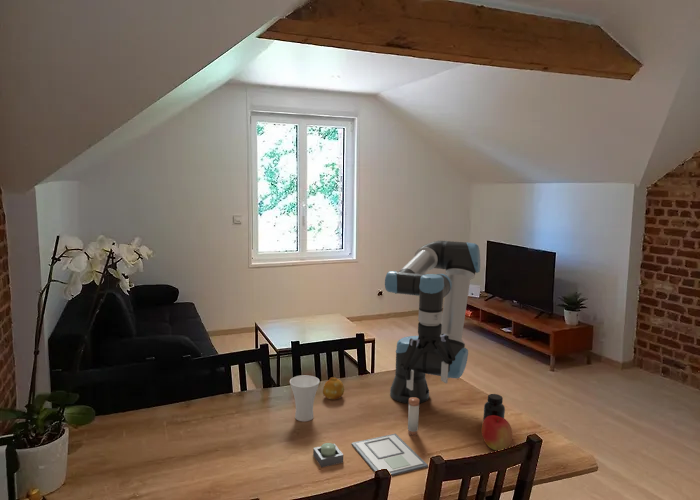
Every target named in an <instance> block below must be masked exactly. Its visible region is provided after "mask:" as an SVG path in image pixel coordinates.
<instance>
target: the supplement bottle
mask: <svg viewBox="0 0 700 500" xmlns="http://www.w3.org/2000/svg"><path fill="white" fill-rule="evenodd" d="M503 398H504V397H503V396H502V395H501V394H498V393H497V394H496V393H489V394H488V395H487V401H486V402H485V403H484V407H483V418H482V422H483V421H484V419H485V418H486V417H487V416H490V415H495V416H499V417H502V418H504V419H505V414H506V407H505V405H504V404H503V401H504V400H503Z"/></svg>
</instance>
